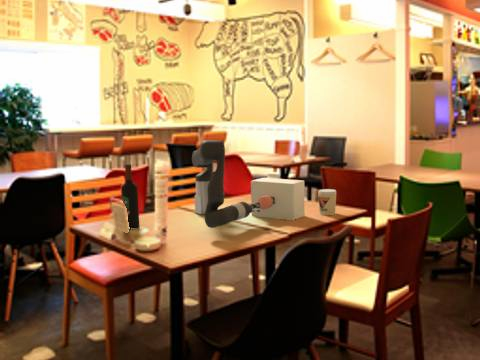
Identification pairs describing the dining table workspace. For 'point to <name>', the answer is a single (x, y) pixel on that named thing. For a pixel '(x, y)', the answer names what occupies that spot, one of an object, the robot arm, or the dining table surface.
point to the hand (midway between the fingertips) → (258, 204)
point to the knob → (265, 202)
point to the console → (280, 197)
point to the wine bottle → (130, 198)
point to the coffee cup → (327, 201)
